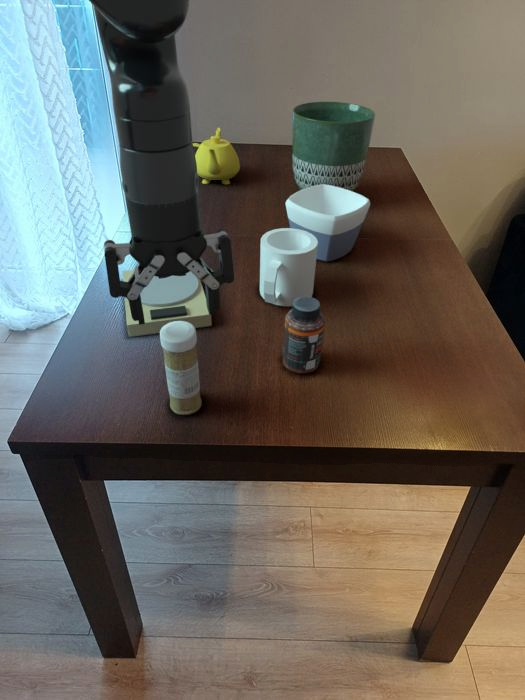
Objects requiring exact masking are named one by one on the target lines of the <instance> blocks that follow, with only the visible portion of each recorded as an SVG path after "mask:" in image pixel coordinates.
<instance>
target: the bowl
mask: <svg viewBox="0 0 525 700" xmlns="http://www.w3.org/2000/svg"><path fill="white" fill-rule="evenodd" d="M370 206H371V201H370V199H369V198H368V197H365V196H364V195H362V194H361V193H359V192H358V193H357V192H356V191H355V192H354V191H353V192H352V191H350V190H346V189H343V188H340V187H336V186H331V185H325V184H321V185H315V186H312V187H308V188H305V189H302V190H300V189H299V190H298V191H295V192H294V193H292V194H291V195H290V196H289V197H288V198H287V199H286V201H285V210H286V214H287V219H288V224H289V228H293V229H300V230H303V231H307V232H309V233H311V234H312V235H314V236H315V237H316V238H317V241H318V246H317V256H316V260H318V261H321V262H331V261H335V260H337V259H340V258H343V257H344V256H346V255H348V253H350V251H352V250H353V248H354V245H355V243H356V240H357V238H358V235H359V233H360V231H361V228H362V226H363V223H364V221H365V219H366V217H367V214H368V212H369V209H370Z"/></svg>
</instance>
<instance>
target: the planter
mask: <svg viewBox="0 0 525 700" xmlns="http://www.w3.org/2000/svg"><path fill="white" fill-rule="evenodd" d="M375 118H376V113H375V111H374V110H372V109H371V108H368V107H366V106H363V105H359V104H355V103H349V102H341V101H311V102H305V103H300V104H297V105H295V106H294V107H293V108H292V118H291V119H292V120H291V122H292V128H291V129H292V131H291V132H292V133H291V135H292V136H291V137H292V138H291V141H292V142H291V145H292V146H291V149H292V150H291V153H292V154H291V157H292V158H291V160H292V161H291V163H292V164H291V165H292V174H293V177H294V182H295V184H296V186H297V187H298V189H299V191H300V190H302V189H305V188H308V187H312V186H315V185H321V184H325V185H331V186H336V187H340V188H343V189H346V190H350V191H352V192H354V191H355V190H356V189H357V187H358V186H359V184H360V182H361V180H362V178H363V175H364V171H365V167H366V163H367V158H368V153H369V148H370V144H371V138H372V134H373V130H374V124H375V120H376V119H375Z"/></svg>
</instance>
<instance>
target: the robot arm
mask: <svg viewBox="0 0 525 700" xmlns="http://www.w3.org/2000/svg"><path fill="white" fill-rule="evenodd" d="M88 1H89V2H90V3H91V4H92V7H93V12H94V16H95V20H96V25H97V30H98V34H99V38H100V43H101V47H102V51H103V55H104V60H105V63H106V66H107V70H108V71H107V72H108V74H109V81H110V87H111V88H110V89H111V100H112V111H113V114H114V120H115V121H114V122H115V126H116V133H117V140H118V147H119V168H120V175H121V180H122V181H121V185H122V191H123V192H124V197H125V204H126V210H127V216H128V217H127V218H128V223H129V229H130V234H131V237H130V240H129V242H123V243H116V242H115V241H114V240H112V239H107V240H105V241H104V244H103V248H104V249H103V250H104V251H103V253H104V261H105V262H104V263H105V269H106V275H107V283H108V290H109V295H110V296H111V297H112V298H114V299H117V298H120V297H123V298H125V297H126V298H127V299H128V301H129V305H130V310H131V316H132V319H133V320H134V321H139V325H141V324H145V320H144V313H143V307H142V302H141V296H140V293H141V292H142V290H143V289H144V288H145V287H147V286H148V284H149V283H150V281H151V280H152V278H153V277H154V276H156V277H159V279H161V278H167V277H170V276H186V273H188V272H190V271H191V272H192V273H193V274H194V275H195V276H196V277H197V278H198V279H199V280H200V281H201V282H203V284H204V287H205V297H206V303H207V309H208V312H209V315H211V316H212V315H216V310H220V306H221V304H220V303H221V300H220V288H221V286H222V285H224V284H232V283H233V282H234V281H235V274H234V273H235V271H234V262H233V251H232V240H231V238H230V236H229V234H228V232H227V230H226V229H225V228H223V227H219V228H218V229H217V230H216V232H215V233H211V234H204V233H203V231H202V220H201V219H202V218H201V207H200V193H199V192H200V191H199V185H200V177H199V176H198V174H197V164H196V158H195V154H196V152H195V150H194V148H195V147H193V143H194V141H193V128H192V116H191V104H190V95H189V90H188V86H187V83H186V81H185V79H184V76H183V75H182V73H181V70H180V67H179V62H178V52H177V43H176V42H177V41H176V34H177V33H178V32H179V31H180V29H181V28H182V26H183V25H184V24H185V21H186V19H187V16H188V13H189V8H190V0H88ZM208 247H211V249H212V251H213V252H214V253H215V254H218V262H219V269H216V270H213V269H212V268H211V267H210V266H209V265H208V264H207V263H206V262H205V260H204V259H203V257H202V256H203V254H204V252H205V251H206V249H207V248H208ZM129 255H130V256H131V258H132V259H134V260H135V261H136V262H137V264H136V265H135V267H134V269H133V270H134V272H133V274H132V275H131V277H130V279H129V280H128V282H124V281H123V280H121V277H120V268H119V265H120V266H121V265H122V264H124V263H125V259H126V257H127V256H129Z"/></svg>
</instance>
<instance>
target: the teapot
mask: <svg viewBox="0 0 525 700" xmlns="http://www.w3.org/2000/svg"><path fill="white" fill-rule="evenodd" d="M221 132H222V131H221V127H219V126H218V127H216V129H215V135H211V136H210V138H209V139H205V140H203V141H202V142H201V143H197V142H193V148H195V147H196V148H197V150H196V152H195V158H196V164H197V174H198V177H199V176H200V177H202V178H205V179H202V178H201V179H202V181H201V184H204V185H208V184H210V183H211V180H222V181H221V184H222V185H230V184H231V181H230V180H231V179H233V178H235V177H236V175H237V174H238V173H239V172H240V170H241V164H240V159H239V156H238V153H237V152H236V150H235V148H234V147H233V145H232V144H231V143H230V141H229V140H226V139H224V138H223V139H222V133H221ZM200 177H199V178H200ZM232 177H233V178H232ZM230 178H231V179H230ZM206 179H209V180H206ZM226 179H228V180H226Z"/></svg>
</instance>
